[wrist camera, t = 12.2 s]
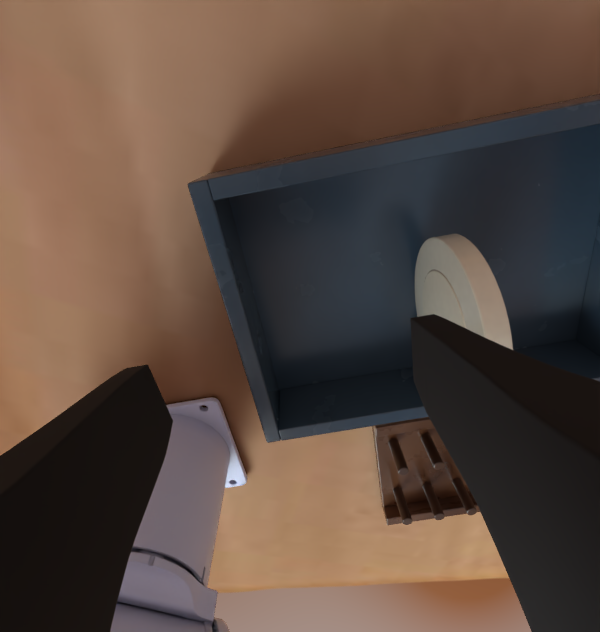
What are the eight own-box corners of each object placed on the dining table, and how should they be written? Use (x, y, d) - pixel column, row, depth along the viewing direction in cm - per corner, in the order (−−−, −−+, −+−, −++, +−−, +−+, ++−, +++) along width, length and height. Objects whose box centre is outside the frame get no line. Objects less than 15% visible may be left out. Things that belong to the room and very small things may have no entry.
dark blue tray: (269, 395, 23) (266, 443, 19) (207, 173, 17) (186, 183, 13) (579, 342, 22) (637, 383, 18) (629, 87, 16) (731, 72, 12)
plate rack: (382, 506, 28) (392, 545, 26) (370, 410, 24) (381, 446, 21) (496, 489, 28) (519, 527, 25) (506, 388, 24) (535, 421, 21)
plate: (410, 328, 22) (467, 453, 16) (416, 205, 16) (506, 324, 10) (427, 325, 22) (490, 449, 16) (438, 200, 16) (541, 318, 10)
